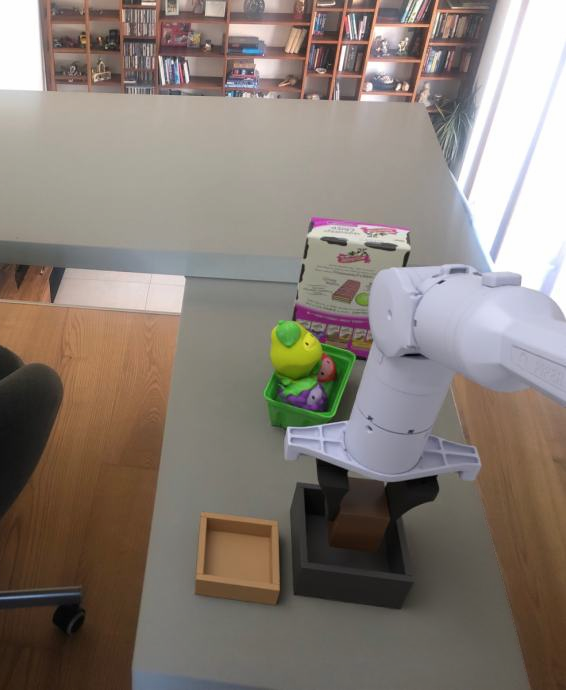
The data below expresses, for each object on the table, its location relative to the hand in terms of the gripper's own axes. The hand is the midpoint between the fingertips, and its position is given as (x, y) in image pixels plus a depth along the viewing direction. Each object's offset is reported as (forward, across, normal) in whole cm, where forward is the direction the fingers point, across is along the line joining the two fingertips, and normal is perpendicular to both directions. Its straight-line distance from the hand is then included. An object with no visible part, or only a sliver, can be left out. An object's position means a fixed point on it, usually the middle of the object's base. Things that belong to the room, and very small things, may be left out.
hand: (356, 515), depth 60 cm
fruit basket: (+7, +3, -20) cm, 21 cm away
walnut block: (+2, 0, 0) cm, 2 cm away
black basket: (+6, 0, 0) cm, 6 cm away
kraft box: (+6, +10, +2) cm, 12 cm away
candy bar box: (+7, -2, -31) cm, 32 cm away
